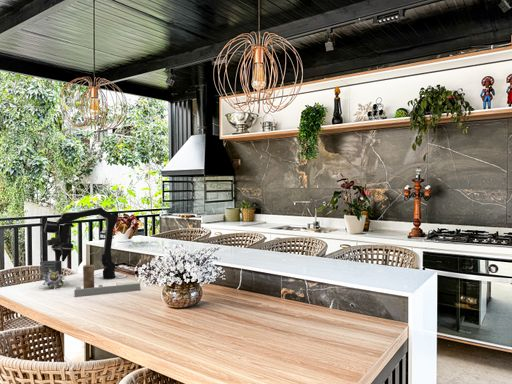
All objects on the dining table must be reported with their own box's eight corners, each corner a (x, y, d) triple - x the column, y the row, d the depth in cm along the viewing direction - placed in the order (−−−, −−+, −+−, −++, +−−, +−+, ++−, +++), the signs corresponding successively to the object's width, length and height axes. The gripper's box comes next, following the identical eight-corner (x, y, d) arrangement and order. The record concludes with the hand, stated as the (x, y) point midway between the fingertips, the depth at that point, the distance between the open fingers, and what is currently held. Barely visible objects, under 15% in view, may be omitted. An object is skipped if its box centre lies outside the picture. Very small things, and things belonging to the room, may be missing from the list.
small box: (62, 276, 248) (62, 260, 248) (56, 279, 241) (55, 262, 241) (46, 276, 249) (46, 260, 249) (40, 279, 242) (39, 262, 242)
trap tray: (138, 284, 222) (138, 278, 222) (140, 290, 210) (140, 283, 210) (76, 290, 211) (76, 284, 211) (74, 296, 199) (74, 290, 199)
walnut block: (94, 290, 211) (93, 264, 211) (94, 292, 206) (93, 266, 206) (84, 291, 209) (83, 265, 209) (83, 293, 204) (83, 267, 204)
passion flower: (55, 298, 218) (44, 283, 211) (43, 292, 223) (32, 278, 216) (71, 283, 225) (61, 269, 218) (59, 278, 230) (50, 263, 223)
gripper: (43, 233, 229) (39, 260, 225) (54, 231, 216) (50, 260, 212) (63, 235, 236) (60, 261, 233) (75, 233, 223) (71, 261, 220)
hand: (60, 261), depth 224 cm, fingers open, 9 cm apart
